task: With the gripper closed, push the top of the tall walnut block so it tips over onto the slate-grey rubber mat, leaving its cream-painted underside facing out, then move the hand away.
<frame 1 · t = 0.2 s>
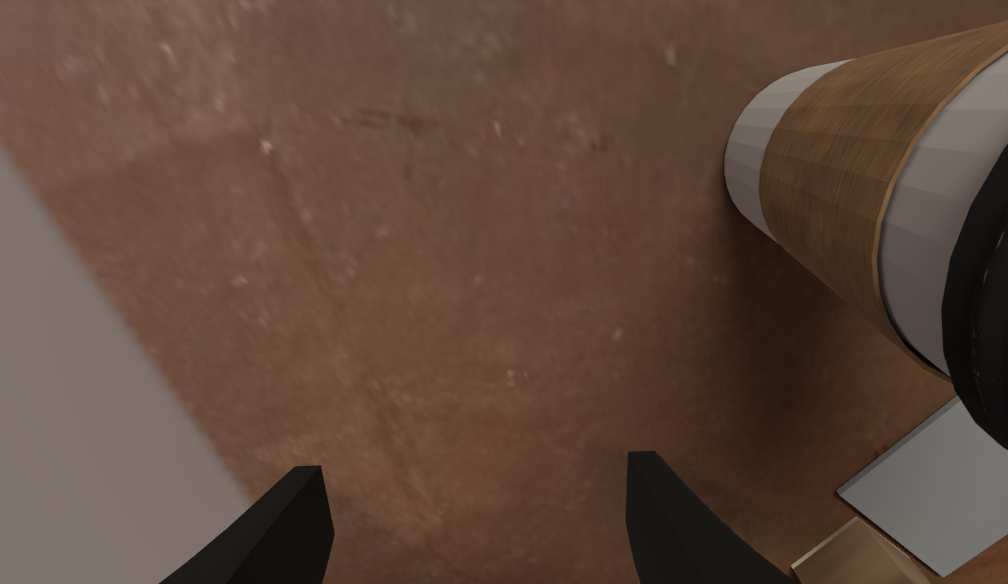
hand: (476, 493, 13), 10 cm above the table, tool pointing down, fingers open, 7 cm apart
slate mat: (953, 485, 25), on the table
walnut block: (849, 561, 27), on the table
coffee cup: (802, 154, 20), on the table
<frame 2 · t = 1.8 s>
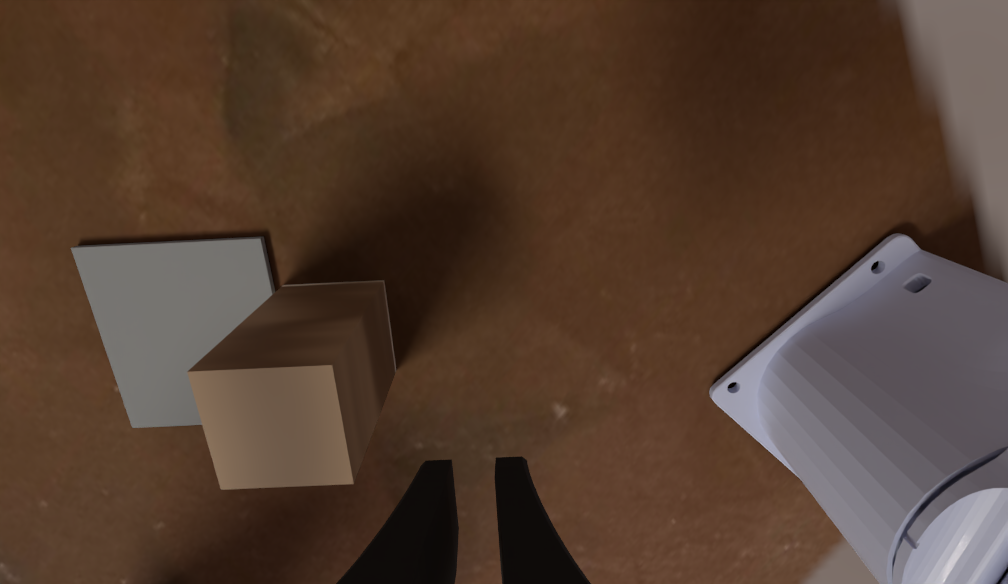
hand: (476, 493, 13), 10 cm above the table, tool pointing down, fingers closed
slate mat: (196, 336, 22), on the table
walnut block: (341, 328, 22), on the table
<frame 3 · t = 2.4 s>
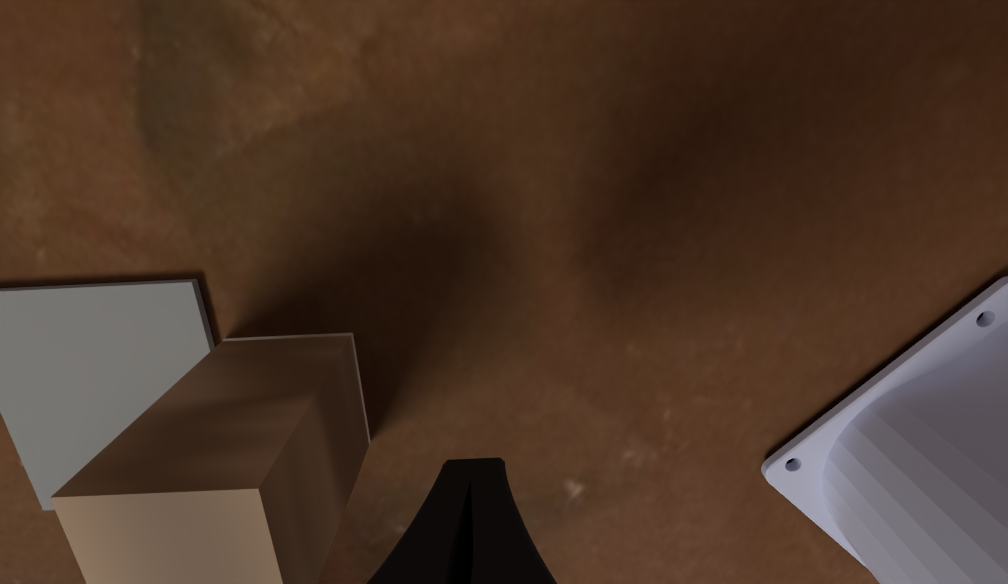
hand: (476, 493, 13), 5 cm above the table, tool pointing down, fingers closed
slate mat: (117, 400, 18), on the table
walnut block: (300, 391, 18), on the table
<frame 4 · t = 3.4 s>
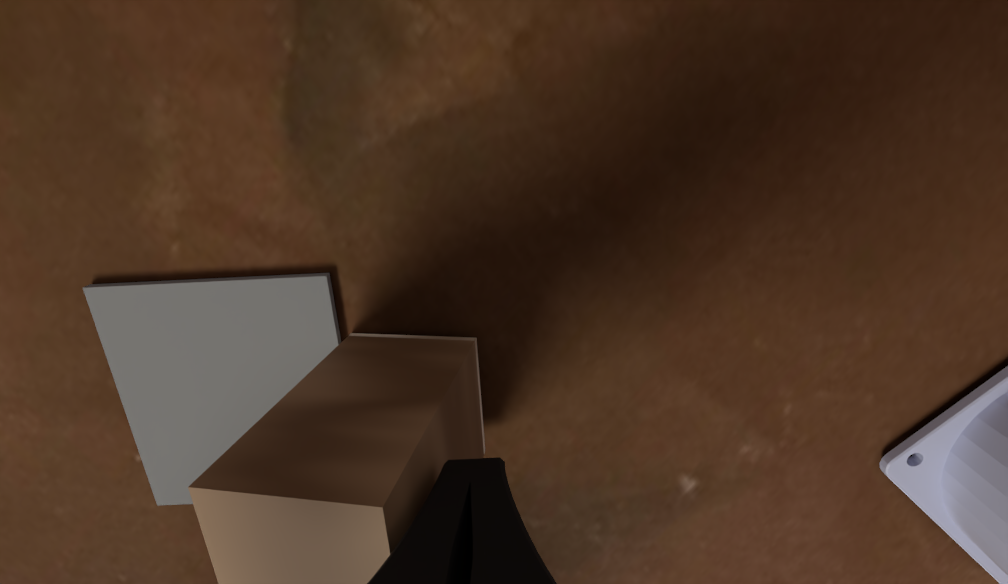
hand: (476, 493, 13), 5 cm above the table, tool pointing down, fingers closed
slate mat: (238, 395, 18), on the table
walnut block: (419, 392, 17), on the table, tilted 11°
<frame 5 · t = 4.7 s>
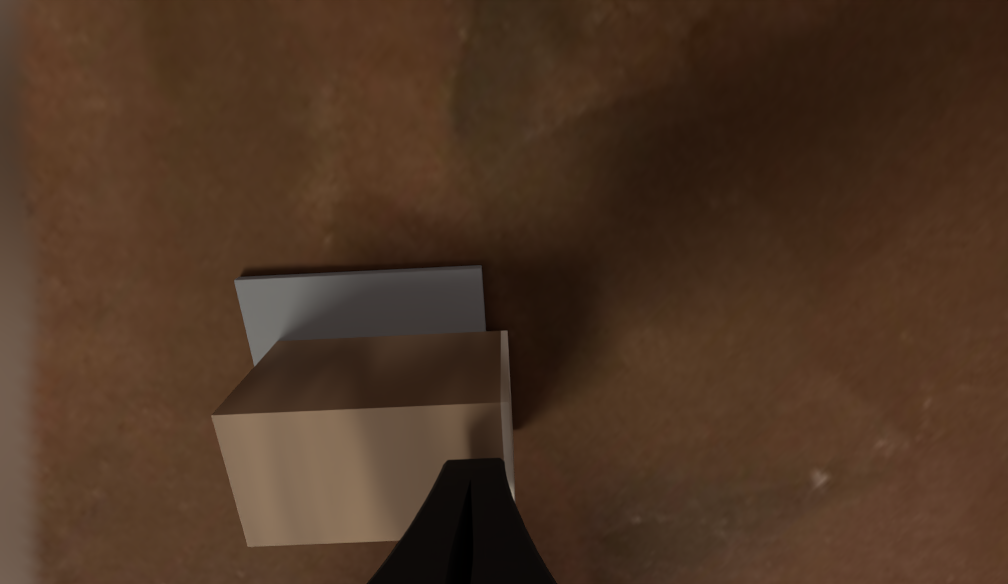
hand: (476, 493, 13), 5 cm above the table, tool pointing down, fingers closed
slate mat: (377, 389, 18), on the table
walnut block: (511, 425, 15), point 2 cm above the table, tilted 90°, touching slate mat
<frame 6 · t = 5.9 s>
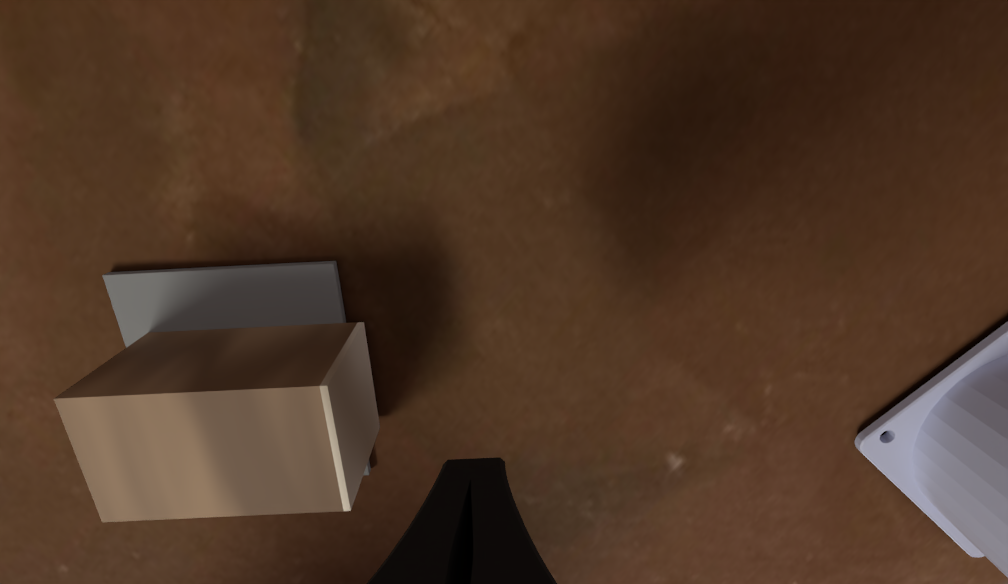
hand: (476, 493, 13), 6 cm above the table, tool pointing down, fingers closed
slate mat: (249, 378, 19), on the table
walnut block: (357, 409, 16), point 2 cm above the table, tilted 90°, touching slate mat
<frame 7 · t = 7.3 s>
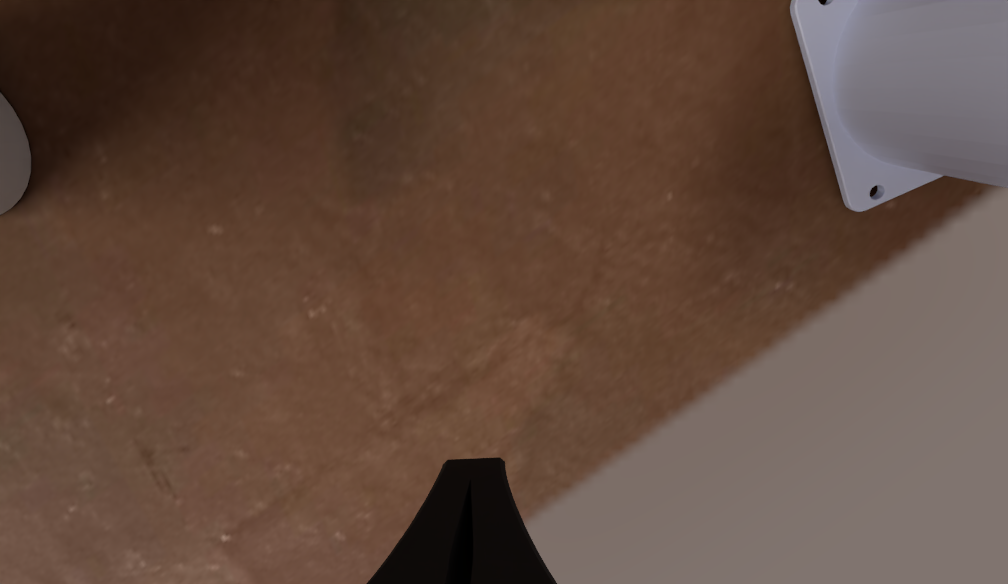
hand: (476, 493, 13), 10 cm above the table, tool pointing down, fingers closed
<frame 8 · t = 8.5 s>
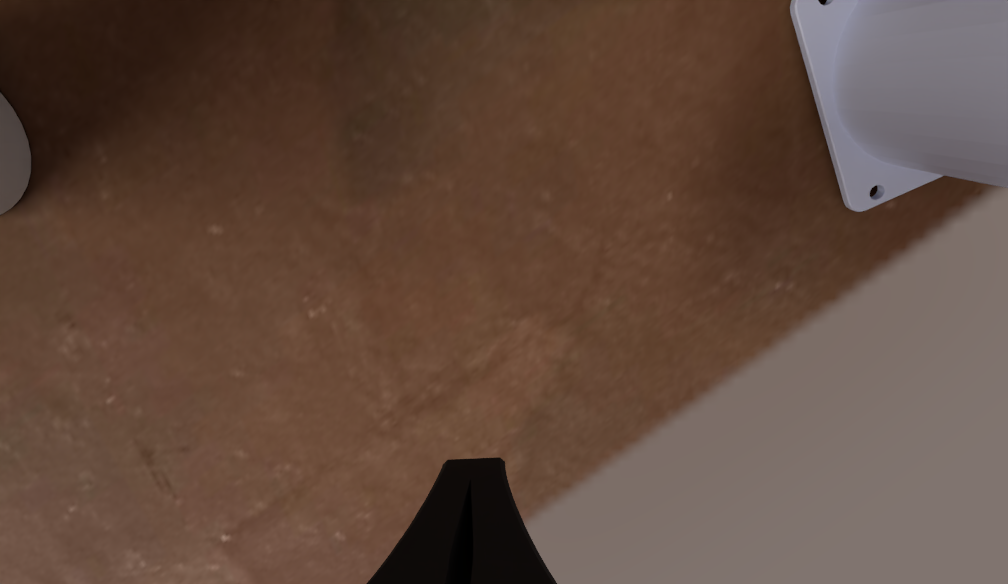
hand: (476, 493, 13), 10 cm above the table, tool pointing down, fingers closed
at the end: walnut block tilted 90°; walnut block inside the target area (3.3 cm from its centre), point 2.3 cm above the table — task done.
